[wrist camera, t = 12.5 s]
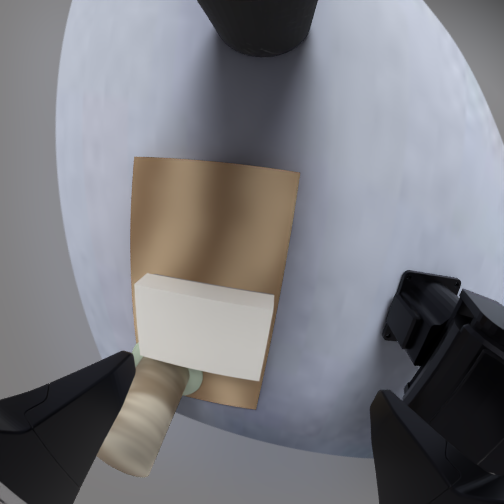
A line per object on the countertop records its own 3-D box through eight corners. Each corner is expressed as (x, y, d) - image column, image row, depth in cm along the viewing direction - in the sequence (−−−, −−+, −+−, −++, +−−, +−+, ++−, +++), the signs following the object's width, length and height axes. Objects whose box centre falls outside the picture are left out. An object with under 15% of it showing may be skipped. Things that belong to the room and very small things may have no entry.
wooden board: (298, 172, 19) (300, 172, 17) (256, 401, 26) (255, 412, 24) (135, 156, 20) (125, 156, 18) (141, 376, 26) (136, 384, 25)
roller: (170, 343, 22) (114, 439, 12) (199, 382, 24) (163, 479, 13) (133, 355, 24) (76, 437, 13) (161, 390, 25) (119, 474, 14)
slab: (274, 283, 20) (273, 309, 16) (262, 348, 22) (259, 381, 18) (158, 263, 21) (134, 283, 17) (159, 328, 22) (140, 355, 19)
